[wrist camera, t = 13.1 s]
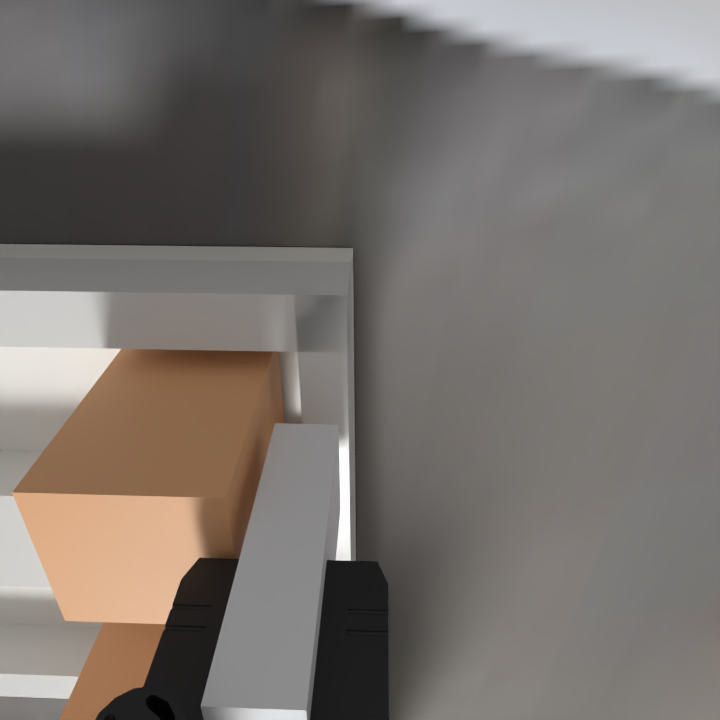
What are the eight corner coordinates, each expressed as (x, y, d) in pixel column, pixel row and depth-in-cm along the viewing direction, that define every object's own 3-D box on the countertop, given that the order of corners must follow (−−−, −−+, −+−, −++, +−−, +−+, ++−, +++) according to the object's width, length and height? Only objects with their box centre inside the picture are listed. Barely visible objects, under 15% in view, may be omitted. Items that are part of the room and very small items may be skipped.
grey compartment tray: (-155, 618, 26) (-220, 692, 23) (-427, 238, 17) (-585, 285, 14) (356, 636, 25) (352, 715, 22) (352, 248, 16) (346, 299, 13)
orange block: (156, 445, 18) (65, 620, 13) (131, 336, 16) (12, 493, 11) (286, 448, 18) (246, 626, 13) (277, 338, 16) (225, 498, 11)
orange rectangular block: (152, 626, 23) (84, 808, 18) (132, 559, 21) (49, 741, 16) (255, 630, 23) (216, 814, 18) (245, 563, 21) (198, 747, 16)
